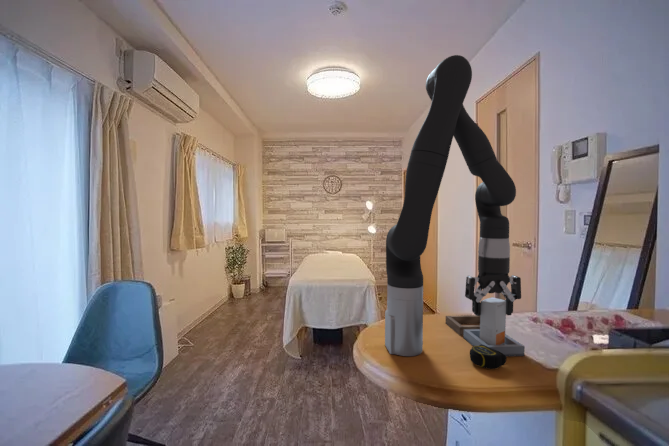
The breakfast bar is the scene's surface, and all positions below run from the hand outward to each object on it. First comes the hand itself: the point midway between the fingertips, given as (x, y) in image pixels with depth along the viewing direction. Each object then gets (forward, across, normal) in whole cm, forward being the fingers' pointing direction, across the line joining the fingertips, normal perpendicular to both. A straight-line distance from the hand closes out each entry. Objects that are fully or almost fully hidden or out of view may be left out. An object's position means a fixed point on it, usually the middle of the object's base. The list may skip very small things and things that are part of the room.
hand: (492, 314), depth 86 cm
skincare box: (+8, 0, 0) cm, 8 cm away
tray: (+9, 0, 0) cm, 9 cm away
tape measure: (+9, -7, -9) cm, 14 cm away
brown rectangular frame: (+9, +1, +13) cm, 16 cm away
